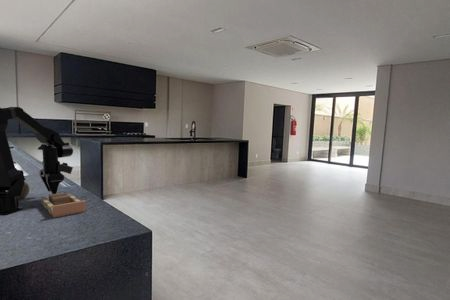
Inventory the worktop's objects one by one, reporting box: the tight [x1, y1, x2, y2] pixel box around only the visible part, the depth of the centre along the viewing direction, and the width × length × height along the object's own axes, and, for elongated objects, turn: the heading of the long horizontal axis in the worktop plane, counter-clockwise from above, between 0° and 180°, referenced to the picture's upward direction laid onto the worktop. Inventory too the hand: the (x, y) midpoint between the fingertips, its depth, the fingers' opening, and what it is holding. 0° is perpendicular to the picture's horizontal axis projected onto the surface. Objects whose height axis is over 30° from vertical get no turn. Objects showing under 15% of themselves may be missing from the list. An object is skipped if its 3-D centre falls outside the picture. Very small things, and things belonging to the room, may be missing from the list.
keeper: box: [48, 192, 70, 205], centre depth 114 cm, size 8×6×4 cm
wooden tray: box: [41, 193, 81, 217], centre depth 111 cm, size 20×11×2 cm, turn 43°
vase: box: [17, 181, 30, 200], centre depth 123 cm, size 7×7×9 cm
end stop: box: [52, 199, 87, 218], centre depth 103 cm, size 2×11×4 cm, turn 133°
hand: (52, 193), depth 124 cm, fingers open, 9 cm apart
